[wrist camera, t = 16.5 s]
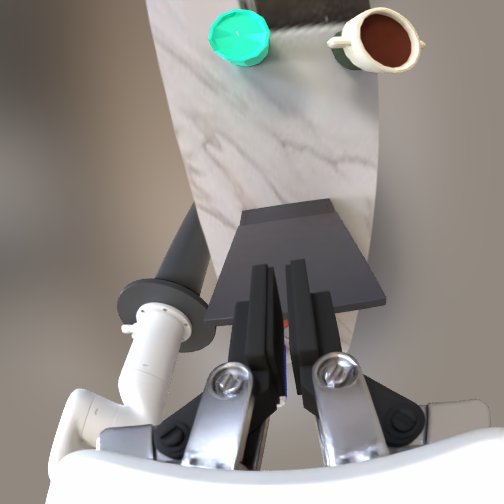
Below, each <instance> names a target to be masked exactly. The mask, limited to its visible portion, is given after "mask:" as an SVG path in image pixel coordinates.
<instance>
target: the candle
mask: <svg viewBox="0 0 504 504" xmlns="http://www.w3.org/2000/svg"><path fill="white" fill-rule="evenodd" d="M208 40H209V42H210V44H211V46H212V48H213V50H214V52H215V53H217V54H218V55H220V56H221V57H223V58H224V59H226V60H228V61H230V62H232V63H234V64H236V65H238V66H246V67H250V66H253V65H256V64H259V63H261V62H262V60H263V59H264V58H265V57H266V56H267V55H268V50H269V43H270V30H269V28H268V26H267V24H266V22H265V20H264V18H262V17H261V16H259V15H258V14H256V13H254V12H253V11H250V10H240V9H234V10H231V11H229V12H226V13H224V14H221V15H220V16H219V17H218V18H217V19H216V21H215V22H214V23H213V25H212V26H211V28H210V33H209V37H208Z"/></svg>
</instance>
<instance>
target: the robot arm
mask: <svg viewBox="0 0 504 504" xmlns="http://www.w3.org/2000/svg"><path fill="white" fill-rule="evenodd" d="M290 263H291V264H288V265H285V272H286V288H287V306H288V325H289V346H290V355H291V361H292V367H293V372H294V378H295V383H296V389H297V394H298V395H302V398H303V405H304V408H305V409H307V410H308V411H309V412H311V413H312V414H314V416H315V421H316V426H317V431H318V435H319V440H320V445H321V450H322V455H323V460H324V465H325V467H320V468H311V469H298V470H279V471H260V468H261V463H262V458H263V453H264V447H265V442H266V436H267V430H268V425H269V416H270V415H271V414H272V413H274V412H275V411H276V410H277V404H280V397H281V396H285V349H284V320H283V313H282V308H281V302H280V297H279V292H278V287H277V282H276V277H275V272H274V267H268V264H267V263H266V264H259V265H253V266H252V274H251V286H250V297H249V301H240V302H236V304H235V310H234V318H233V325H232V333H231V340H230V349H229V356H228V362H227V363H224V364H221V365H219V366H217V367H216V368H215V369H214V370H213V371H212V372H211V373H210V375H209V377H208V379H207V382H206V385H205V388H204V391H203V392H202V393H201V394H200V395H199V396H197V397H196V398H194V399H193V400H192V401H190V402H189V403H188V404H186V405H185V406H184V407H183V408H181V409H179V410H178V411H177V412H175V413H174V414H173V415H171V416H170V417H168V418H167V419H166V420H164V421H163V417H164V411H165V405H166V401H167V396H168V392H169V388H170V384H171V380H172V376H173V372H174V368H175V364H176V360H177V356H178V353H179V349H180V345H181V342H184V341H186V340H187V339H188V338H189V337H190V336H191V332H192V324H191V322H190V320H189V319H188V318H187V316H186V315H185V314H184V313H182V312H181V311H180V310H178V309H176V308H174V307H172V306H170V305H167V304H163V303H147V304H144V305H143V306H141V307H140V308H139V310H138V312H137V315H136V320H137V323H134V324H133V325H123V326H122V332H123V333H132V338H133V339H134V341H133V343H132V346H131V348H130V351H129V354H128V356H127V359H126V361H125V364H124V367H123V369H122V372H121V375H120V378H119V384H118V385H119V391H120V395H121V398H122V400H123V402H124V405H125V406H123V405H120V404H117V403H115V402H112V401H110V400H108V399H106V398H103V397H101V396H99V395H97V394H95V393H93V392H91V391H88V390H85V389H76V390H75V391H73V392H72V394H71V395H70V397H69V399H68V401H67V403H66V406H65V409H64V411H63V415H62V417H61V420H60V423H59V427H58V430H57V433H56V436H55V440H54V443H53V447H52V450H51V454H50V459H49V466H48V472H49V477H50V479H51V484H50V488H49V492H48V496H47V500H46V504H504V428H503V427H491V421H490V411H489V407H488V406H487V404H486V403H485V402H484V401H482V400H480V399H470V400H461V401H450V402H436V403H428V404H427V405H417V404H416V403H414V402H412V401H411V400H409V399H407V398H405V397H403V396H401V395H399V394H398V393H396V392H394V391H392V390H390V389H389V388H387V387H385V386H383V385H381V384H380V383H378V382H376V381H374V380H373V379H371V378H369V377H367V376H366V375H364V374H363V373H362V370H361V367H360V365H359V363H358V361H357V360H356V359H355V358H354V357H353V356H351V355H349V354H347V353H344V352H342V348H341V343H340V337H339V332H338V327H337V322H336V317H335V312H334V308H333V303H332V298H331V294H330V291H323V292H316V293H310V289H309V282H308V276H307V269H306V263H305V258H304V259H296V260H290ZM81 441H82V442H84V443H86V444H88V445H91V446H93V447H95V448H97V450H84V449H83V447H82V445H81Z"/></svg>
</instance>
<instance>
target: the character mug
mask: <svg viewBox="0 0 504 504" xmlns="http://www.w3.org/2000/svg"><path fill="white" fill-rule="evenodd" d="M327 46H328V47H329V48H332V52H333V54H334V56H335V58H336V60H337V61H338V62H339V63H341V64H342V65H343V66H344V67H346V68H349V69H351V70H364V71H369V72H374V73H399V72H404V71H408V70H409V69H411V68H412V67H413V66H414V65H415V64H416V63H417V61H418V59H419V57H420V55H421V49H424V48H425V47H426V44H425V43H424V42H422V41H420V39H419V37H418V35H417V32H416V30H415V29H414V27H413V26H412V25H411V23H410V22H409V21H408V20H407V19H406V18H405V17H403V16H402V15H400V14H399V13H398V12H396V11H393V10H391V9H388V8H383V7H382V8H373V9H370V10H367V11H365V12H363V13H361V14H359V15H358V16H356V17H355V18H353V19H351V20H350V21H348V22H347V23H346V24H345V26H344V27H343V30H342V31H340V32H338V33H336V35H335V36H334V37H333V38H331V39H330V40H328V41H327Z"/></svg>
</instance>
